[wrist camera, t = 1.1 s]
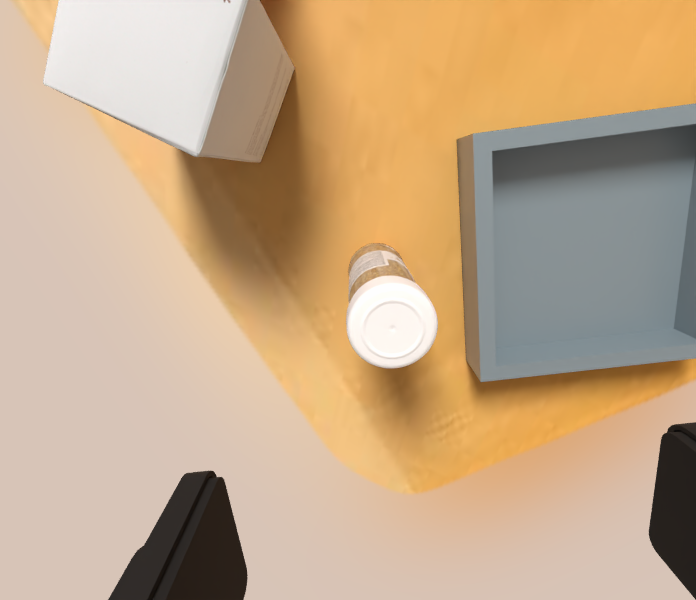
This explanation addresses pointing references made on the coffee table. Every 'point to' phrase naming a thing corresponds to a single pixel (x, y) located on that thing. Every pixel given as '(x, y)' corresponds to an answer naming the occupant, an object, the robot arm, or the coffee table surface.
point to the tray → (579, 244)
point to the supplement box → (175, 70)
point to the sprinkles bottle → (387, 309)
